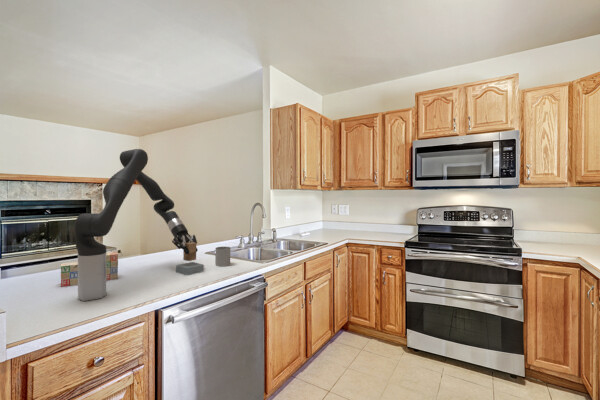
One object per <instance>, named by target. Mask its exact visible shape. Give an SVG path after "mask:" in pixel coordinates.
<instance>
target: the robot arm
mask: <svg viewBox="0 0 600 400" xmlns="http://www.w3.org/2000/svg"><path fill="white" fill-rule="evenodd" d="M148 160H149V157H148V153H147V152H146V150H144V149H143V148H135V149H128V150H125V151H121V153H120V155H119V161H120V163H121V165H122V167H123V168H122V169H120V170H119V171H117V172H116V173H114V174H113V175H112V176H111V177H110V178H109V179H108V181H107V182H106V184H105V185H104V187H103V190H102V194H103V199H104V202H105V205H104V208H103V209H102V210H101V212H99V213H90V212H89V213H88V212H87V213H85V212H84V213H81V214H79V215H77V218H75V223H74V238H75V248H76V250H77V262H78V285H77V299H78V300H79V301H82V302H85V301H86V302H87V301H92V300H99V299H103V297H105V296H106V295H107V280H106V253H107V245H105V244H103V243H101V242H99V241H98V240H96V239H95V237H96V238H101V237H106V236H107V235H108V234H109V233H110V231H111V229H112V227H113V226H114V223H115V220H116V217H117V215H118V213H119V211H120V208H121V206H122V205H123V203H124V201H125V199H126V198H127V197H128V195H129V192H130V191H131V189H132V186H133V185H134V184H135V182H136V181H137V183H139V185H140V186H141V187H142V188H143V190H144V191H145V192H146V194H147V195H148V196H149V198H150V200H152V201H153V202H156V203H154V204H153V211H155V213H156V214H158V215H159V216H160V217H161V218H162V219H163V220H164V221H165V223H166V225H167V227H168V229H169V230H170V231H169V232H171V234H172V236H173V239H172V240H171V242H172V243H173V245H175V247H176V248H177V249H179V250H180V249H182V251H183V250H184V252H185V253H186V254H189V253H190V251H189V250H188V248H187V247H186V245H185V243H187V242H194V243H196V245H197V244H198V240H197V238H196V237H197V236H196V235H195V234H192V235H191V234H189V230H188V228H187V227H186V226H185V224H184V222H183V221H182V220H181V219H180V216H179V215H178V213H177V212H176V211H173V210H172V209H174V207H175V203H174V201H173V200H172V199H171V198H170V197H169V196H167V194H165V193H164V191H163V189H162V188H161V187H160V185H159V184H158V182H156V181H155V180H154V179H153V178H152V177H150V176H149V175H147V174H145V173H144V172H143V170H144V169H145V168H146V167H147V164H148V162H149V161H148ZM198 251H199V250H198V248H197V246H196V253H197V252H198Z"/></svg>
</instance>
